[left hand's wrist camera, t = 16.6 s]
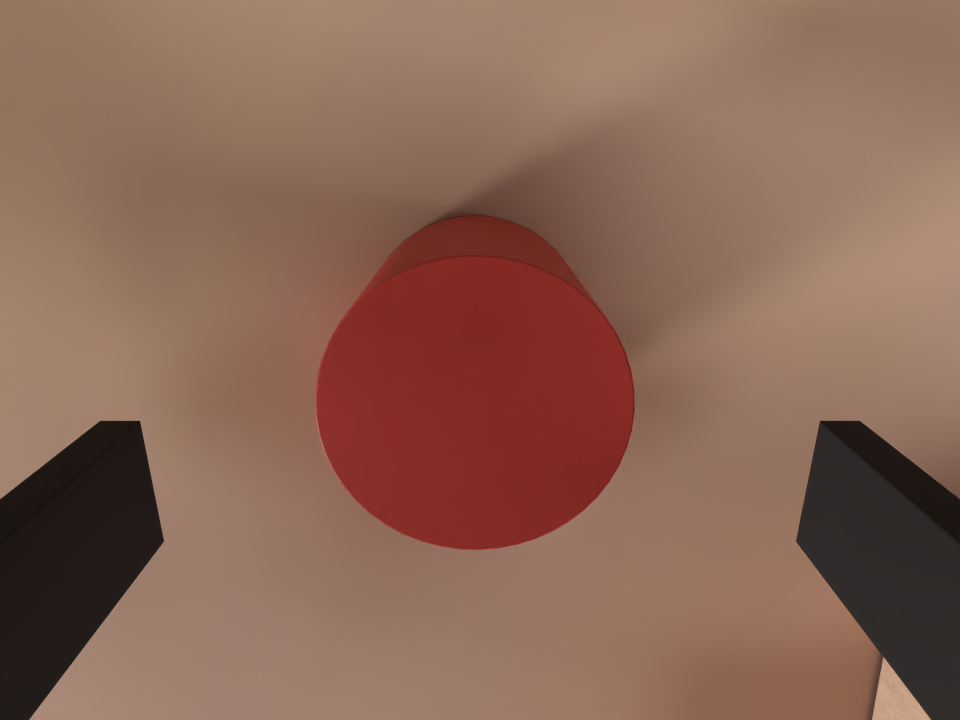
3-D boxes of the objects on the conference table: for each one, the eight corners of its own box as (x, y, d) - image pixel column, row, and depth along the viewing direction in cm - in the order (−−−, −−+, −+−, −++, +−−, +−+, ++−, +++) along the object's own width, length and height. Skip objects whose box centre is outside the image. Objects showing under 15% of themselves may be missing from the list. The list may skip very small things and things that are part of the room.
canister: (533, 451, 27) (557, 586, 19) (339, 383, 26) (276, 495, 18) (619, 264, 24) (691, 326, 16) (408, 180, 23) (372, 202, 15)
